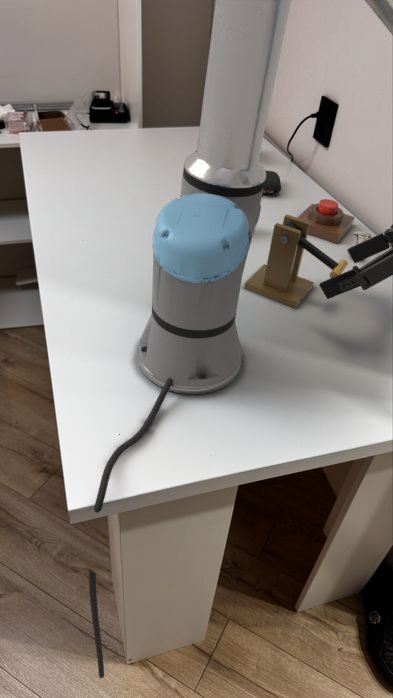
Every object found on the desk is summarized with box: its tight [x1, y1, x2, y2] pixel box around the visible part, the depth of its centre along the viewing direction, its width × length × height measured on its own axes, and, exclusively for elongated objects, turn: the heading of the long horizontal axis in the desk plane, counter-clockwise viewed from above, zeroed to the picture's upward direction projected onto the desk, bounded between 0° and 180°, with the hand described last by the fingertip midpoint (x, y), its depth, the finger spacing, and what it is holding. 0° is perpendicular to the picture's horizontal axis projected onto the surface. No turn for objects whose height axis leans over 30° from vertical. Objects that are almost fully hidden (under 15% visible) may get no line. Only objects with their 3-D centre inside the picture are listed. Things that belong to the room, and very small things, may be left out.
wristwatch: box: [353, 230, 373, 245], centre depth 106 cm, size 4×6×5 cm, turn 162°
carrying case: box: [262, 169, 282, 196], centre depth 127 cm, size 11×3×15 cm
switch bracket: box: [244, 214, 315, 309], centre depth 91 cm, size 10×8×13 cm
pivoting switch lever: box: [285, 221, 349, 279], centre depth 88 cm, size 12×5×2 cm, turn 59°
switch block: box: [297, 203, 355, 244], centre depth 114 cm, size 10×10×4 cm
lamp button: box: [318, 198, 339, 216], centre depth 112 cm, size 4×4×2 cm
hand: (338, 272), depth 88 cm, fingers open, 13 cm apart
